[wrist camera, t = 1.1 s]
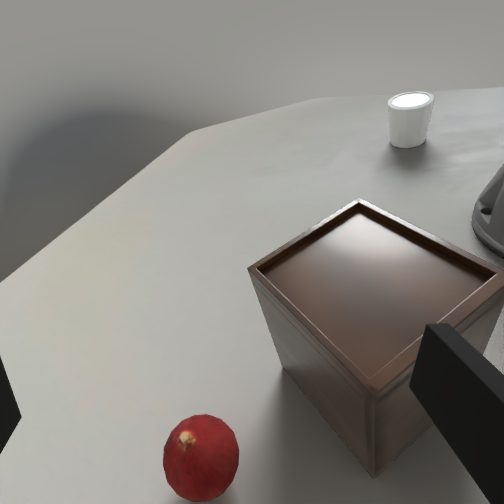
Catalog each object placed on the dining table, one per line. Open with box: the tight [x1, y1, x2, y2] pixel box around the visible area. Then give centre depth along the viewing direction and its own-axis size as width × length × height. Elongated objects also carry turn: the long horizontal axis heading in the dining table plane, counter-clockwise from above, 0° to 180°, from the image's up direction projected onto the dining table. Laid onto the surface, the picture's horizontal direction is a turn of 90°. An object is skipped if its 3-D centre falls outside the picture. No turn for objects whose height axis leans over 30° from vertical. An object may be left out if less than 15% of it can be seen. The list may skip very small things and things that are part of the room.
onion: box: [163, 414, 239, 502], centre depth 26 cm, size 6×6×8 cm
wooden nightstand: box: [247, 198, 504, 478], centre depth 27 cm, size 11×12×15 cm
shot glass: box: [388, 92, 434, 148], centre depth 57 cm, size 7×7×7 cm
